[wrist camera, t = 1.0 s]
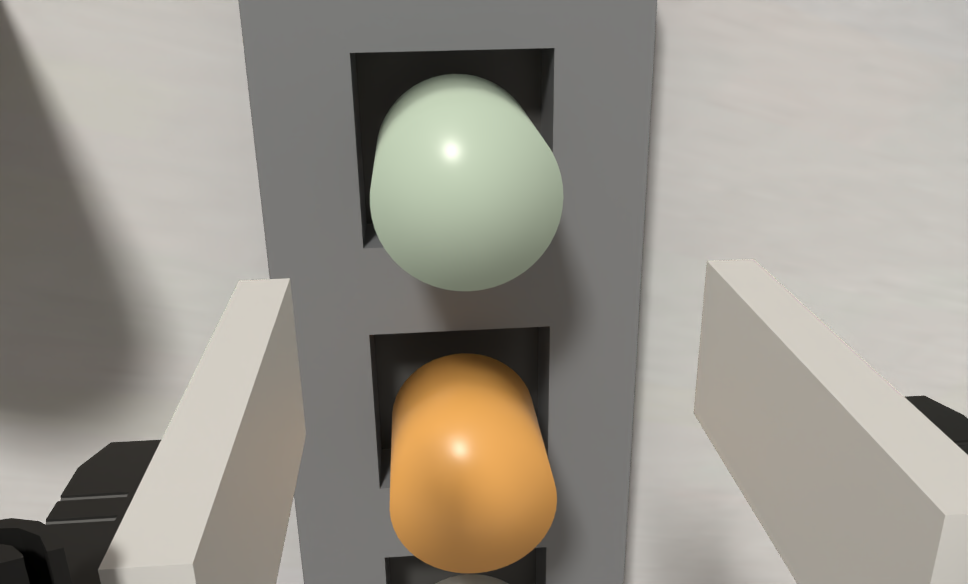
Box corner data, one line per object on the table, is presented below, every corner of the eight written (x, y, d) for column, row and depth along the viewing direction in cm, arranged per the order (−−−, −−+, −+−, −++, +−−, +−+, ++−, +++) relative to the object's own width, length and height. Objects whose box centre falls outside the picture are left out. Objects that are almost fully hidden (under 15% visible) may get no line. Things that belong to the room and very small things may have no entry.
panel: (328, 685, 38) (322, 744, 35) (249, -58, 27) (232, -57, 24) (600, 665, 39) (615, 720, 36) (635, -63, 28) (660, -64, 25)
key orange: (395, 481, 30) (393, 578, 26) (388, 356, 29) (384, 437, 24) (533, 473, 31) (555, 567, 26) (533, 349, 29) (558, 427, 24)
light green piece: (380, 234, 27) (375, 295, 22) (371, 75, 25) (363, 106, 21) (535, 228, 27) (561, 287, 23) (536, 71, 26) (565, 100, 21)
